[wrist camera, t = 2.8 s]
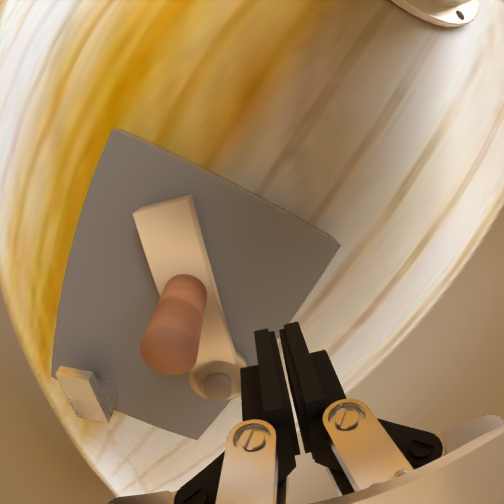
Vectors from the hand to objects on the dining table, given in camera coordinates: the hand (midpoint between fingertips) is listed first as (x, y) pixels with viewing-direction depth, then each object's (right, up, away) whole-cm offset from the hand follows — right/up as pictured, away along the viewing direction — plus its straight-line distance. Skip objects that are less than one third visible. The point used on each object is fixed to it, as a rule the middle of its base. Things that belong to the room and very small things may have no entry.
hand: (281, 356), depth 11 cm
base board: (-8, -1, +10) cm, 12 cm away
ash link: (-4, 0, +7) cm, 9 cm away
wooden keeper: (-14, -6, +10) cm, 18 cm away
